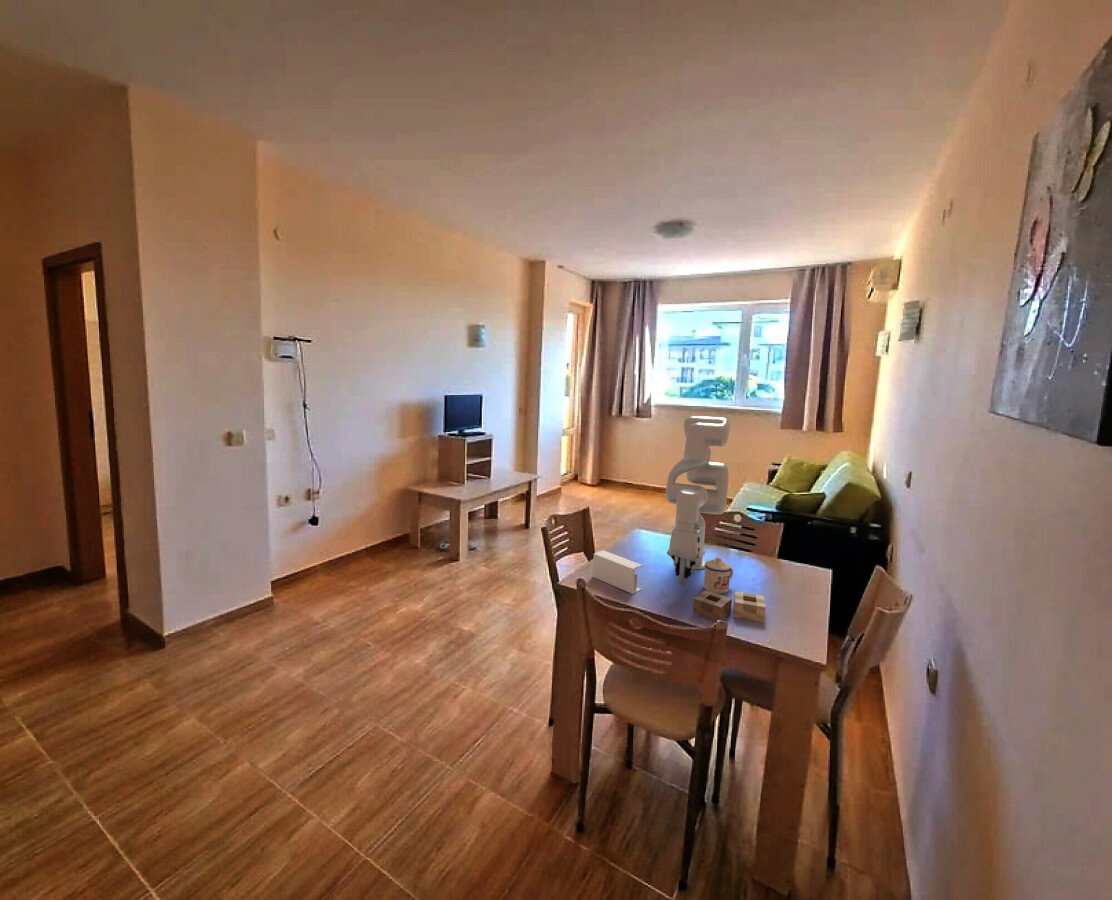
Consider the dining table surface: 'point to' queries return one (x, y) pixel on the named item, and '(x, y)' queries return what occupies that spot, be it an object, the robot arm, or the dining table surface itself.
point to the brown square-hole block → (712, 605)
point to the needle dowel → (682, 571)
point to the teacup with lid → (717, 576)
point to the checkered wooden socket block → (749, 606)
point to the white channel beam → (616, 571)
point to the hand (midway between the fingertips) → (682, 575)
